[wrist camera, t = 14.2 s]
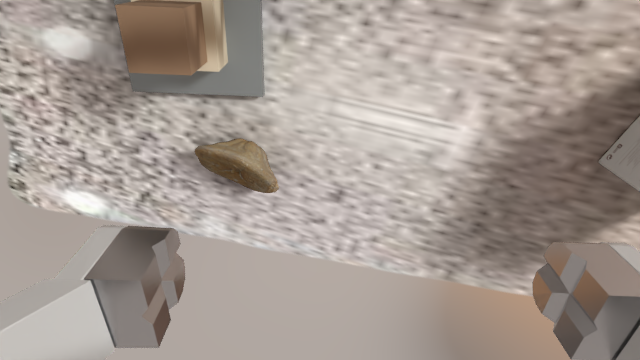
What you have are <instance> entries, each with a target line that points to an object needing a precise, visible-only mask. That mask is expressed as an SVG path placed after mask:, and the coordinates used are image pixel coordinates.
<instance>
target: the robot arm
mask: <svg viewBox="0 0 640 360" xmlns="http://www.w3.org/2000/svg"><path fill="white" fill-rule="evenodd" d="M179 246H180V239H179V235H178V231H176V230H175V229H174V228H156V227H139V226H115V225H103V226H101V227H98V228H97V229H96V230H95V231H94V232H93V234H92V235H91V236H90V237H89V238H88V240H87V241H86V242H85V243H84V244H83V245H82V247H81V248H80V249H79V250H78V251H77V252H76V253H75V255H74V256H73V257H72V258H71V259H70V260H69V262H68V263H67V264H66V265H65V266H64V267H63V268H62V270H61V271H60V272H59V273H58V274H57V275H56V276H55V278H54V279H44V280H42V281H40V282H38V283H37V284H34V285H32V286H30V287H29V288H26V289H25V290H22V291H21V292H19V293H17V294H15V295H13V296H11V297H9V298H7V299H5V300H3V301H1V302H0V360H105V359H106V358H107V357H108V356H109V355H110V354H112V353H113V352H114V351H115V348H158V347H159V346H160V344H161V342H162V339H163V337H164V335H165V332H166V330H167V328H168V325H169V323H170V320H171V319H170V314H169V309H170V308H172V307H173V306H174V305H176V304H177V303H178V302H179V299H180V297H181V294H182V292H183V287H184V281H185V266H184V260H183V259H182V258H181V257H180V256H179V255H178V254H177V253H176V252H177V250H178V248H179ZM544 258H545V260H546V262H547V264H546V265H545V266H543V267H542V268H541V269H539V270H538V271H537V272H536V275H535V277H534V280H533V297H534V299H535V302H536V305H537V306H538V308H539V310H540V311H541V313H542V314H543V315H544V316H546V317H547V318H549V319H550V320H551V321H553V322H554V329H553V332H554V334H555V335H556V337H557V338H558V340H559V341H560V343H561V345H562V346H563V348H564V349H565V351H566V352H567V354H568V355H569V357H570V359H572V360H640V252H639V251H638V250H637V249H636V248H635V247H634V246H631V245H629V244H627V243H610V242H601V243H579V242H553V243H552V244H551V245H550V246H548V248H547V250H546V252H545V254H544Z"/></svg>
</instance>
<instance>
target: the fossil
mask: <svg viewBox="0 0 640 360" xmlns="http://www.w3.org/2000/svg"><path fill="white" fill-rule="evenodd" d="M195 154H196V155H197V156H198V159H199V161H200V163H201V164H202V165H203V166H204V167H205V168H207V169H208V170H210V171H211V172H214V173H216V174H218V175H220V176H222V177H225V178H227V179H230V180H232V181H235V182H236V183H239V184H241V185H243V186H245V187H247V188H250V189H252V190H254V191H258V192H263V193H272V192H276V191H277V190H278V189H279V187H278V184H277V179H276V178H275V176H274V174H273V172H272V170H271V168H270V166H269V163H268V159H267V155H266V153H265V151H264V150H263V149H262V148H260V147H259V146H258V145H257V144H255V143H254V142H252V141H250V142H249V141H246V140H244V139H234V140H231V141H228V142H220V143H216V144H212V145H204V146H199V147H197V148H196V149H195Z"/></svg>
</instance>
